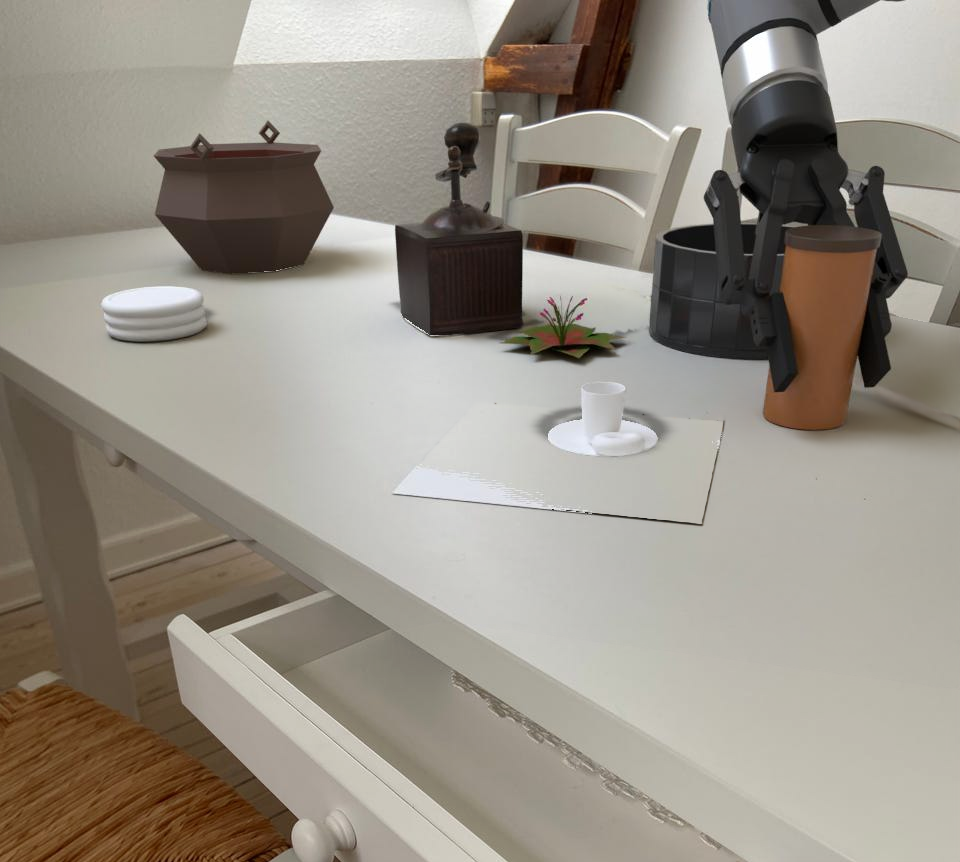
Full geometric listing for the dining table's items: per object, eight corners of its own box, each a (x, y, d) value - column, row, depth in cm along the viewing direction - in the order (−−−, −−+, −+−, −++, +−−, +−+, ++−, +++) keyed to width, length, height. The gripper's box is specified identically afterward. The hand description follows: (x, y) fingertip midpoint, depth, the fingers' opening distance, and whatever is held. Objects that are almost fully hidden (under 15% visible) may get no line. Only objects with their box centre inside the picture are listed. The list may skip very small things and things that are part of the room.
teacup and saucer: (648, 471, 68) (652, 413, 66) (533, 461, 70) (535, 404, 68) (663, 429, 75) (668, 376, 73) (559, 421, 77) (561, 368, 75)
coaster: (116, 348, 97) (109, 311, 95) (99, 326, 105) (92, 291, 103) (218, 335, 101) (213, 299, 99) (194, 314, 109) (189, 281, 107)
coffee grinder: (531, 327, 102) (534, 130, 93) (428, 338, 99) (421, 135, 90) (476, 296, 115) (474, 120, 105) (383, 305, 111) (373, 124, 102)
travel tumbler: (866, 423, 76) (902, 235, 69) (795, 435, 74) (825, 243, 67) (811, 399, 81) (840, 222, 74) (743, 409, 79) (766, 229, 72)
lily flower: (543, 325, 103) (544, 279, 100) (648, 342, 97) (651, 293, 94) (475, 352, 95) (474, 302, 92) (584, 372, 89) (587, 319, 86)
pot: (873, 346, 95) (892, 245, 90) (713, 368, 89) (725, 262, 84) (761, 307, 109) (772, 218, 104) (616, 323, 103) (622, 230, 99)
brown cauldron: (207, 245, 146) (189, 119, 137) (365, 249, 141) (356, 119, 133) (125, 279, 126) (98, 133, 117) (307, 284, 121) (292, 134, 113)
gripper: (874, 144, 82) (930, 398, 77) (647, 150, 81) (688, 411, 75) (920, 72, 75) (986, 347, 70) (671, 76, 73) (719, 360, 68)
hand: (832, 380), depth 72 cm, fingers closed on travel tumbler, 6 cm apart
